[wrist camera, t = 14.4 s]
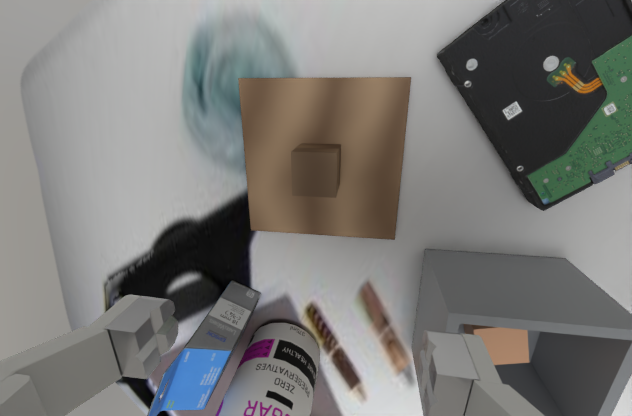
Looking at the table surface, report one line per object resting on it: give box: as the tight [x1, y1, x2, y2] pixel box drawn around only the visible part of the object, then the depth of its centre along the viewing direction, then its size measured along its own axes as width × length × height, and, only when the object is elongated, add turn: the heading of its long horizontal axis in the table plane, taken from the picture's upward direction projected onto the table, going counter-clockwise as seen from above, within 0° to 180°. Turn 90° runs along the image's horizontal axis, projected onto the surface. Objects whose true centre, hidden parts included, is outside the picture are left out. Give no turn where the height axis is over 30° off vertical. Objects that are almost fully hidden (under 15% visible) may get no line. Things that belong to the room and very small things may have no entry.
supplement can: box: [216, 323, 320, 416], centre depth 29 cm, size 8×8×15 cm
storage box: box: [412, 249, 632, 416], centre depth 26 cm, size 12×12×9 cm
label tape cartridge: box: [147, 280, 261, 416], centre depth 30 cm, size 9×4×12 cm, turn 155°
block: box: [464, 324, 529, 365], centre depth 28 cm, size 4×4×4 cm
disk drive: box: [437, 0, 632, 211], centre depth 22 cm, size 10×3×15 cm
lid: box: [238, 77, 411, 240], centre depth 26 cm, size 14×14×5 cm
